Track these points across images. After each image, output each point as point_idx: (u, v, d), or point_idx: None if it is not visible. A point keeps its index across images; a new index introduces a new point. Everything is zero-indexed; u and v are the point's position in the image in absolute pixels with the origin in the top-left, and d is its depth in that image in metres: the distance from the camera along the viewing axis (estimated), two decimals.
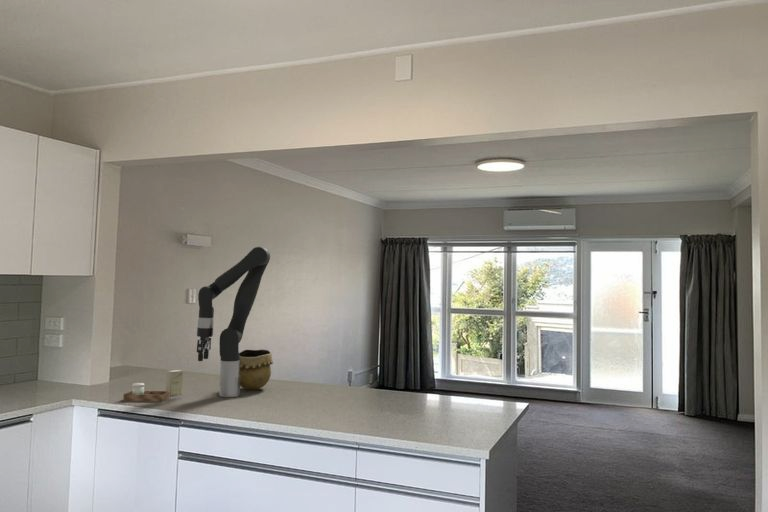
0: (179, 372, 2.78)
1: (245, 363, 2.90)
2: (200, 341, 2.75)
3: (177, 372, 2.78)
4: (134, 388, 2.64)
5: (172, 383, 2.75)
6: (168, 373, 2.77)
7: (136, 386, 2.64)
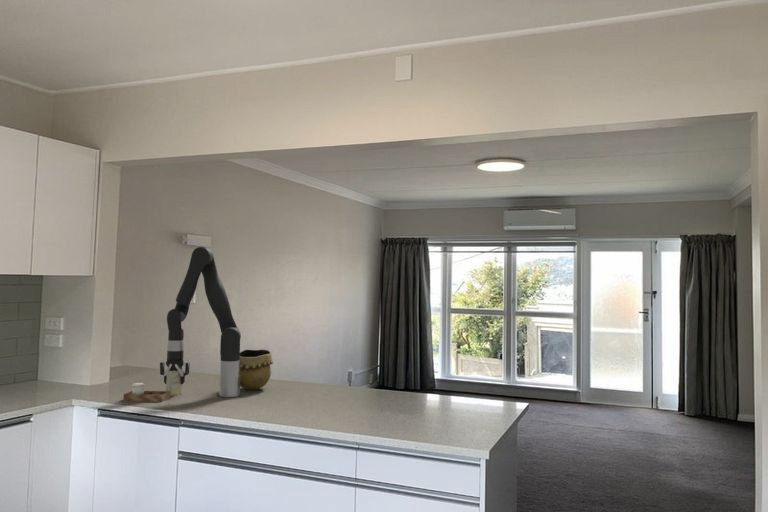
0: None
1: (245, 363, 2.90)
2: (189, 364, 2.79)
3: (177, 372, 2.78)
4: (134, 388, 2.64)
5: (172, 383, 2.75)
6: (168, 373, 2.77)
7: (136, 386, 2.64)
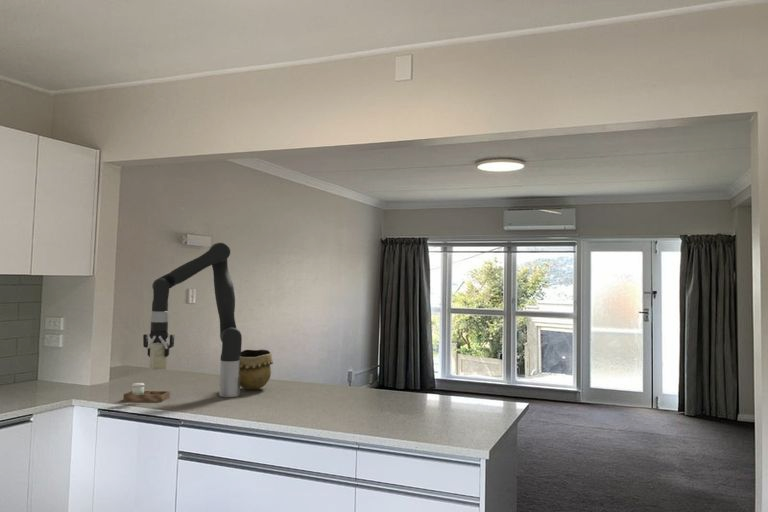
0: None
1: (245, 363, 2.90)
2: (173, 336, 2.68)
3: (161, 344, 2.66)
4: (134, 388, 2.64)
5: (156, 355, 2.64)
6: (152, 345, 2.65)
7: (136, 386, 2.64)
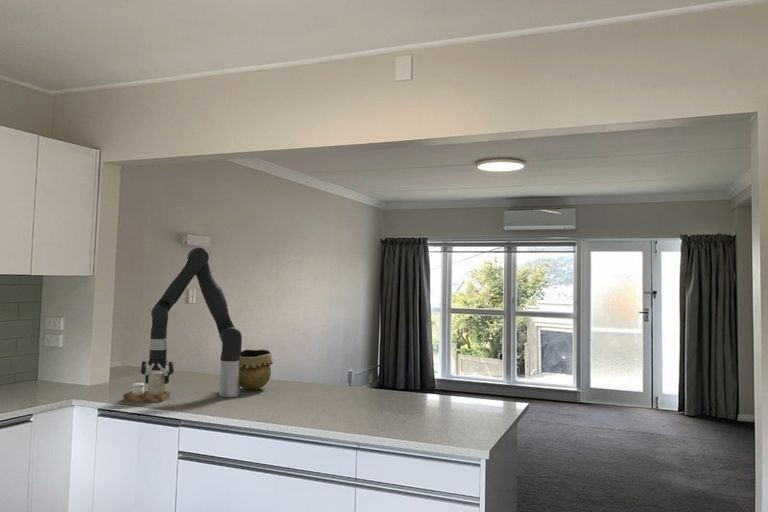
0: (162, 374, 2.67)
1: (245, 363, 2.90)
2: (172, 362, 2.67)
3: (160, 374, 2.66)
4: (134, 388, 2.64)
5: (154, 386, 2.63)
6: (150, 375, 2.65)
7: (136, 386, 2.64)
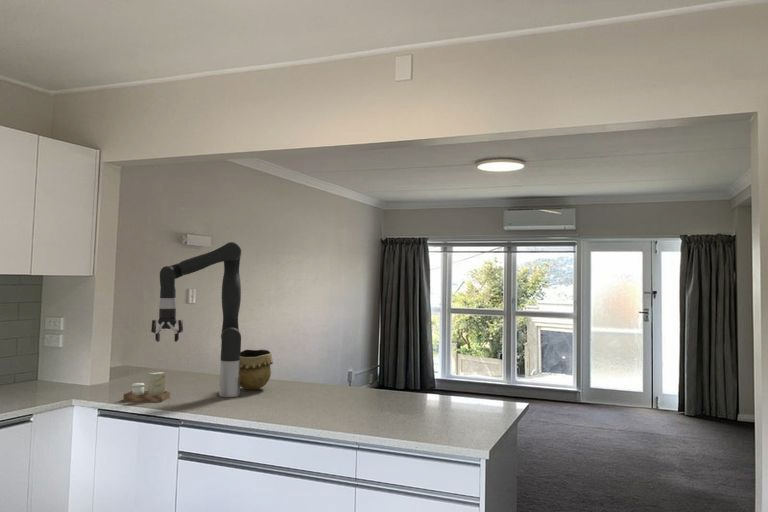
0: (162, 374, 2.67)
1: (245, 363, 2.90)
2: (181, 321, 2.76)
3: (160, 374, 2.66)
4: (134, 388, 2.64)
5: (154, 386, 2.63)
6: (150, 375, 2.65)
7: (136, 386, 2.64)
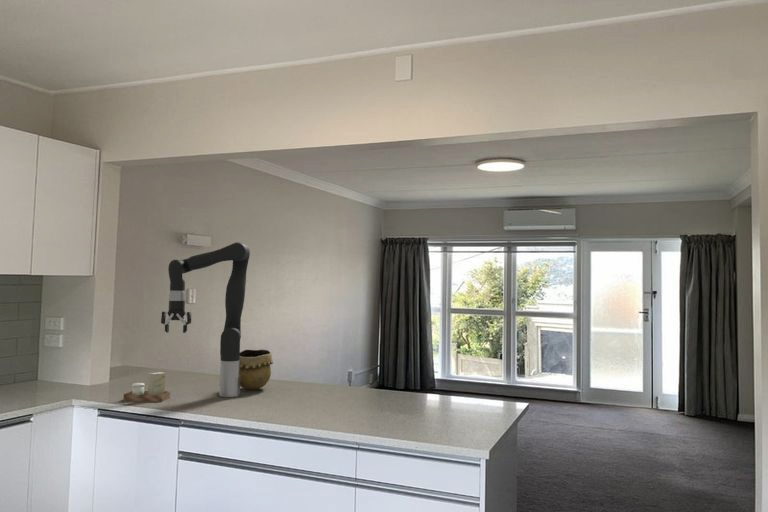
0: (162, 374, 2.67)
1: (245, 363, 2.90)
2: (190, 313, 2.85)
3: (160, 374, 2.66)
4: (134, 388, 2.64)
5: (154, 386, 2.63)
6: (150, 375, 2.65)
7: (136, 386, 2.64)
